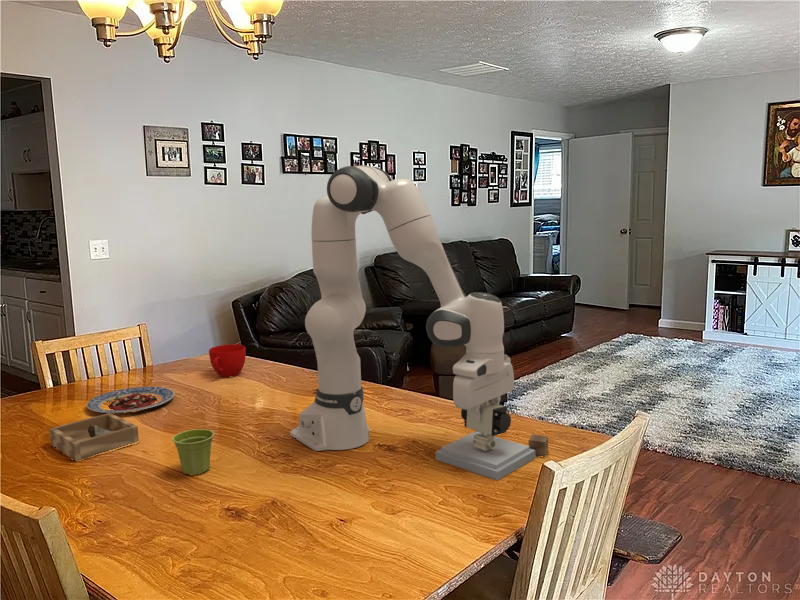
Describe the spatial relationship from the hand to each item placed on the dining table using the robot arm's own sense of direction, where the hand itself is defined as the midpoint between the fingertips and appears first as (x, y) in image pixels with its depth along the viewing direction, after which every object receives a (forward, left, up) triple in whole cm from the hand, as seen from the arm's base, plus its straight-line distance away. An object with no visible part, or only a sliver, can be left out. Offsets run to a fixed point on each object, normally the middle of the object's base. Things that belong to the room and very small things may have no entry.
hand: (485, 417), depth 154 cm
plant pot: (-49, -49, -11) cm, 70 cm away
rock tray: (-85, -58, -10) cm, 103 cm away
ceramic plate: (-111, -36, -11) cm, 117 cm away
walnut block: (+8, +11, -11) cm, 17 cm away
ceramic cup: (-115, +1, -11) cm, 116 cm away
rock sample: (-84, -56, -10) cm, 101 cm away
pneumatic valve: (0, -1, -8) cm, 8 cm away
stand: (0, 0, -10) cm, 11 cm away
